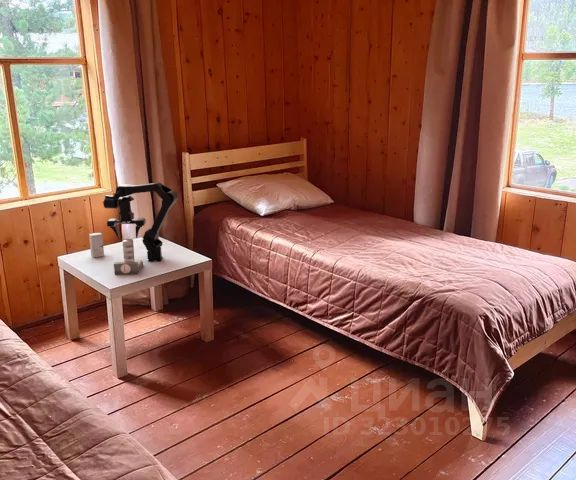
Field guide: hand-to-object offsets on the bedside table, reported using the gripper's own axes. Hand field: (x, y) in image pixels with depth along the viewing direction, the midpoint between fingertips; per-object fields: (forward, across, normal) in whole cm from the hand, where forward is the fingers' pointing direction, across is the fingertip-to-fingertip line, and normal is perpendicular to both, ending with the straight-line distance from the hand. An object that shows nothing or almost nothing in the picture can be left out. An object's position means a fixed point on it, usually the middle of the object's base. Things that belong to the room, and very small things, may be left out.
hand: (127, 238), depth 289 cm
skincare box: (+11, +18, -5) cm, 22 cm away
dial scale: (+11, -4, +18) cm, 21 cm away
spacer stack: (+8, -4, +17) cm, 19 cm away
